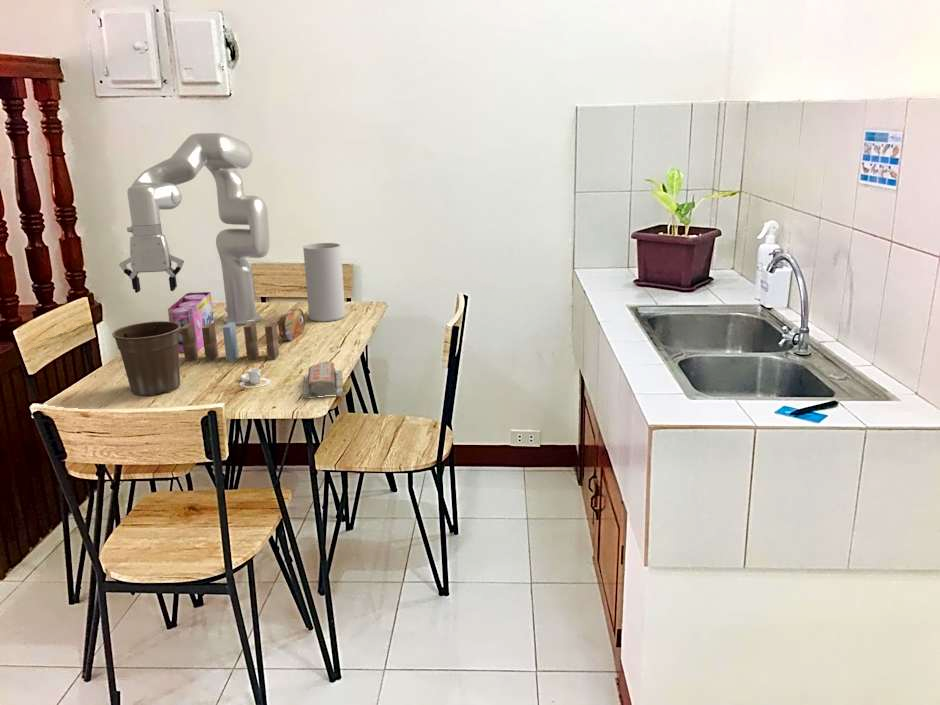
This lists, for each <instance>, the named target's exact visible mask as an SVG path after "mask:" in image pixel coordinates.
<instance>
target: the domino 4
mask: <svg viewBox="0 0 940 705" xmlns="http://www.w3.org/2000/svg"><path fill="white" fill-rule="evenodd" d="M243 332H244V340H245V341H244V343H245V352H246V360H247V361H256V359H257V358H258V357H259V355H260V351H259V343H258V342H259V340H258V331H257V322H248V323H247V324H244V326H243Z"/></svg>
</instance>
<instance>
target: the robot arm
mask: <svg viewBox="0 0 940 705" xmlns="http://www.w3.org/2000/svg"><path fill="white" fill-rule="evenodd" d="M251 163H253V152H252V149H251V147H250V145H249V144H247V142H245V141H243V140H240V139H238V138H236V137H233V136H231V135H228V134H225V133H221V132H209V133H208V132H207V133H205V132H204V133H203V132H202V133H201V132H200V133H199V132H197V133H194V134H190V136H188V137H186V139H185V140H184V141H183V142H182V144H181V145H180V146H179V147H178V149H177V150H175V152H174V154H172V155H171V157H169V158H167V159H165V160H162V161H161V162H159V163H157V164H155V165H153V166H151V167H149V168H147V169H145V170H144V171H143V172H142V173H140V174H139V176H137V178H136V179H135V180H134V181H133V183H132V184H131V186H129V187H128V188H127V200H128V208H129V215H130V222H131V225H130V226H128V227H126V230H127V232H128V233H131V234H132V235H131V236H130V238H129V253H130V254H129V257H128V258H126V259H125V260H123V261H121V262H120V263H119V267H120V268H121V270H122V271H123V273H124V274H125V275H126V276H128V277H129V279H131V284H132V290H134V292H135V293H136V294H137V293H139V292H141V290H142V289H141V284H140V277H139V276H138V274H140V273H158V272H159V273H160V272H161V273H163V272H166V273H167V275H169V277H168V281H169V291H171V292H174V291H175V290H176V288H177V287H178V285H177V283H178V282H177V275H178V274H179V273H180V271H181V270H182V267H183V265H184V263H185V261H184V260H183V259H181V258H178V257H176V256H174V255H172V254H171V252H170V247H169V244H168V239H167V238H166V234H163V229H162V223H161V222H162V221H161V215H160V210H174V209H176V208H177V207H178V206H179V205H180V204H181V203H182V199H183V194H182V191H181V189H180V188H179V187H178V186H177V185H181V184H184V183H187V182H191V181H192V180H193V179H195V178H196V177H197V175H198V174H199V172H200V171H201V170H202V169H203V167H205V168H206V169H207V170H208V171H209V172H210V174H211V175H212V176H213V178H214V181H215V186H216V196H217V207H218V208H217V209H218V217H219V219H220V221H221V222H222V223H224V224H226V225H236V226H239V225H240V226H246V225H247V226H249V228H227V229H226V228H225V229H223V230H221V231H219V232H218V234H217V235H216V237H215V245H216V246H215V247H216V249H217V253H218V256H219V260H220V263H221V264H220V265H221V269H222V270H221V272H222V279H223V288H224V297H225V305H226V308H224V311H225V312H226V314H227V315H226V316H224V317H223V319H222V320H223V323H224V324H225V325H226V324H227V323H233V322H235V326H239V325H240V326H241V325H246V324H247V323H248V322H256V323H257V322H260V321H261V319H262V315H261V314H259V313H257V310H256V309H257V308H256V301H255V292H254V291H255V290H254V280H253V273H252V267H251V264H250V263H249V262H248V260H247V259H248V258H249V259H260V258H264V257H265V256H267V255H268V253H269V249H270V232H269V231H270V230H269V218H268V217H269V214H268V207H267V204H266V202H265V200H264V199H263V198H262V197H260V196H257V195H245V191H244V182H243V178H242V176H241V174H240V173H239V171H238V170H242V169H243V170H244V169H247V168H248V167H249V166H250V165H251ZM172 263H176V267H175V268H173V267H172V265H173V264H172ZM128 264H130V268H131V269H130V268H129V267H128V266H127V265H128Z"/></svg>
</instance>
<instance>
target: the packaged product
mask: <svg viewBox="0 0 940 705" xmlns="http://www.w3.org/2000/svg"><path fill="white" fill-rule="evenodd" d="M343 378H344V375H343V370H342V369H338V370H336V367H335V363H334V362H333V361H332V362H331V361H322V362H319V363H316V364H313V365H311V366H309V367H308V373H305V375H304V383H303V393H302V398H309V397H318V396H325V395H336V397H342V396H343V392H344V391H343V389H344V388H343V387H344V386H343V385H344V384H343V383H344V381H343V380H344V379H343ZM309 399H310V398H309Z"/></svg>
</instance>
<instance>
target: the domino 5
mask: <svg viewBox="0 0 940 705" xmlns="http://www.w3.org/2000/svg"><path fill="white" fill-rule="evenodd" d="M277 326H278V324H277V321H268V323H267V324H266V325H265V326H264V331H265V343H266V352H267V354H266V355H267V360H268V361H275V360H276V359H277V358H278V357H279V355H280V348H279V346H280V345H279V338H278V329H277Z"/></svg>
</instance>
